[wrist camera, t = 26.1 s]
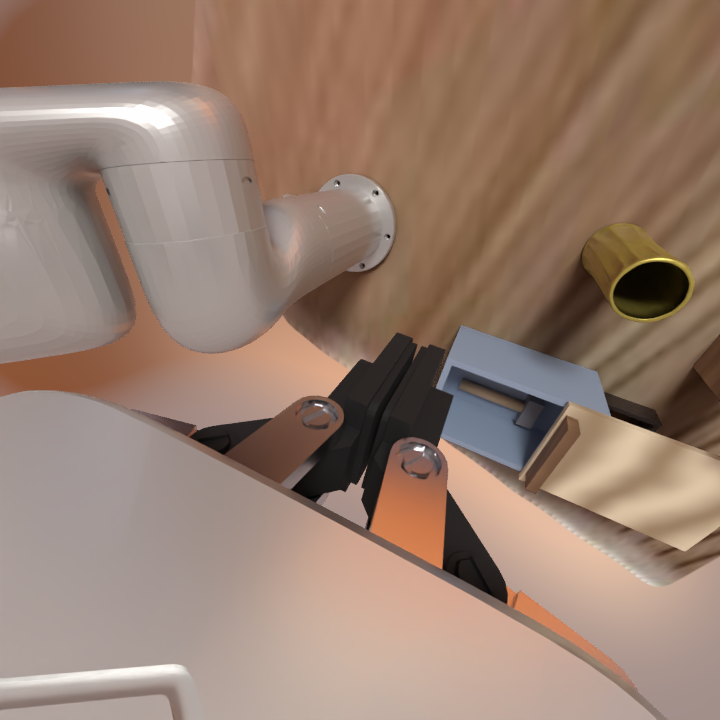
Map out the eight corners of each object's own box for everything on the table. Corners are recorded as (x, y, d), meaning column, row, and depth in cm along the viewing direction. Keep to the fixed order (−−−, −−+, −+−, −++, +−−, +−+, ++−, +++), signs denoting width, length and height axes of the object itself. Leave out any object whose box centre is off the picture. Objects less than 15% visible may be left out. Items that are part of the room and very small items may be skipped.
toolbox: (435, 390, 56) (420, 428, 48) (461, 325, 49) (447, 357, 41) (552, 436, 51) (556, 487, 43) (597, 371, 45) (611, 417, 37)
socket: (566, 427, 50) (568, 440, 47) (594, 388, 46) (597, 401, 43) (621, 448, 48) (625, 463, 46) (654, 410, 44) (661, 424, 42)
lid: (518, 474, 44) (517, 494, 42) (568, 401, 37) (571, 419, 35) (682, 545, 40) (693, 572, 37) (774, 476, 33) (795, 504, 30)
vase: (640, 280, 38) (687, 331, 27) (576, 279, 41) (594, 325, 29) (657, 221, 36) (717, 250, 24) (587, 224, 38) (611, 251, 27)
